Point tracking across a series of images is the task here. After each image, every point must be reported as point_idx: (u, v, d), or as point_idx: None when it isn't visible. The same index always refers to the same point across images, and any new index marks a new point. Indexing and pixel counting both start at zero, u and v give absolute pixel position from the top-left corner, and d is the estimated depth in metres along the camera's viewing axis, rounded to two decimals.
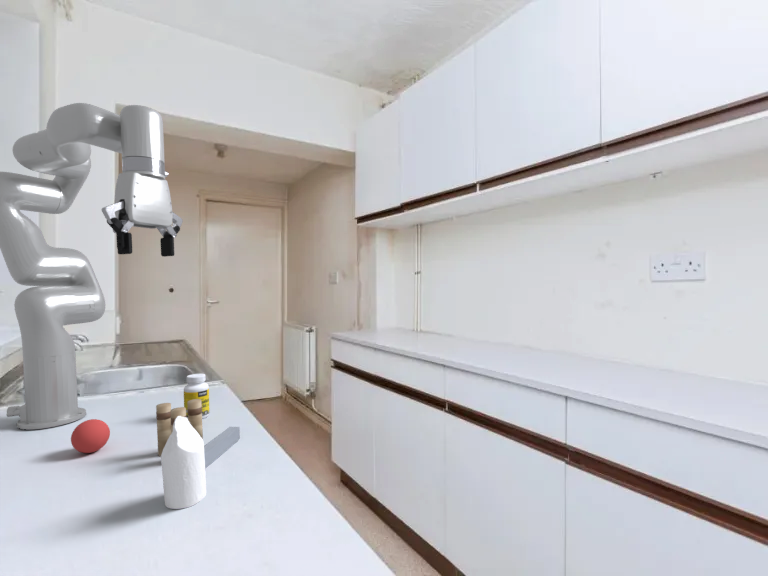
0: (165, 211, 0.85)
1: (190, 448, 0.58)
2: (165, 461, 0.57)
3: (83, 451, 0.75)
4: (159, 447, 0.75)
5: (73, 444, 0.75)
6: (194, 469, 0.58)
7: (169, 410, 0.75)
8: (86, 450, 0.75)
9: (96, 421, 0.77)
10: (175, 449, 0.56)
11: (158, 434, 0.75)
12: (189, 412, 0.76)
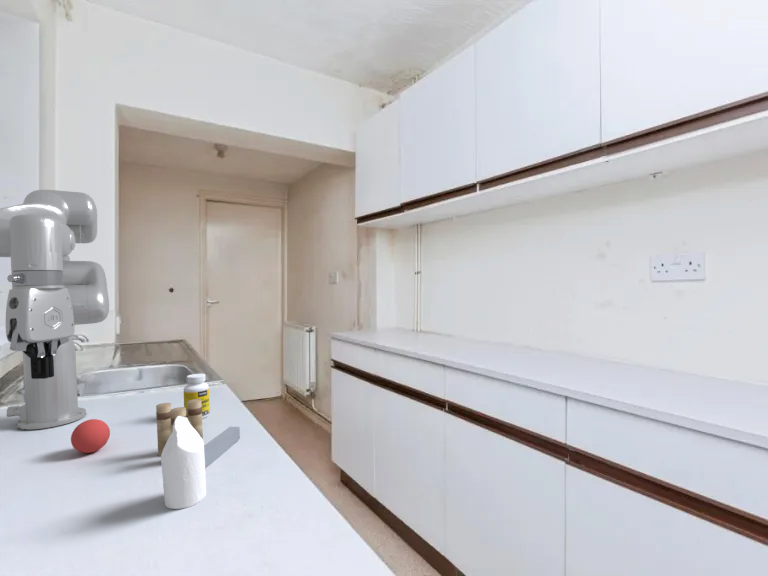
0: None
1: (190, 448, 0.58)
2: (165, 461, 0.57)
3: (83, 451, 0.75)
4: (159, 447, 0.75)
5: (73, 444, 0.75)
6: (194, 469, 0.58)
7: (169, 410, 0.75)
8: (86, 450, 0.75)
9: (96, 421, 0.77)
10: (175, 449, 0.56)
11: (158, 434, 0.75)
12: (189, 412, 0.76)
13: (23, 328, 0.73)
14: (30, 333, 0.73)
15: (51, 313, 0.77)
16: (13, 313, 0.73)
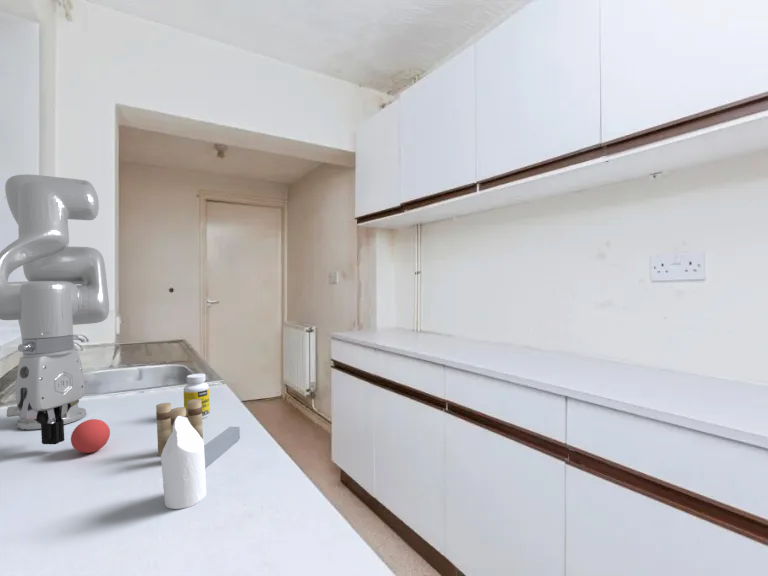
0: None
1: (190, 448, 0.58)
2: (165, 461, 0.57)
3: (83, 451, 0.75)
4: (159, 447, 0.75)
5: (73, 444, 0.75)
6: (194, 469, 0.58)
7: (169, 410, 0.75)
8: (86, 450, 0.75)
9: (96, 421, 0.77)
10: (175, 449, 0.56)
11: (158, 434, 0.75)
12: (189, 412, 0.76)
13: (33, 398, 0.73)
14: (40, 402, 0.73)
15: (62, 378, 0.77)
16: (23, 382, 0.73)
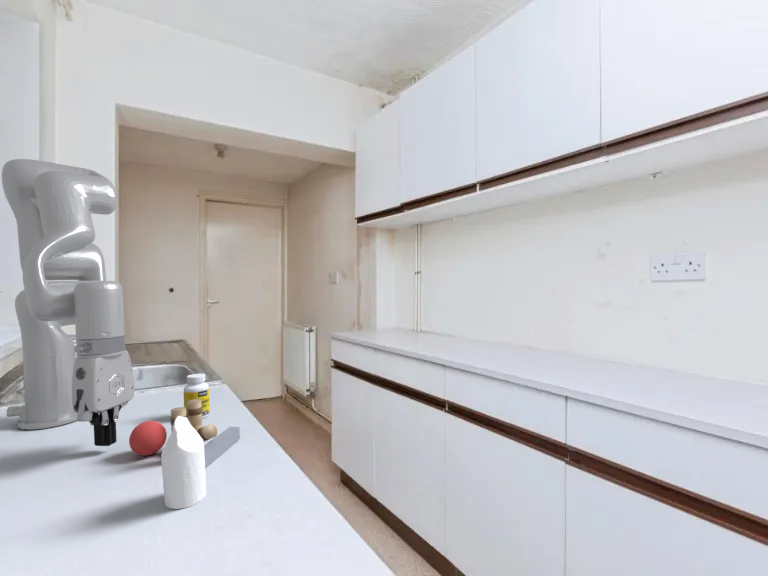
0: None
1: (190, 448, 0.58)
2: (165, 461, 0.57)
3: (142, 433, 0.73)
4: None
5: (143, 446, 0.73)
6: (194, 469, 0.58)
7: (210, 438, 0.74)
8: (139, 432, 0.73)
9: None
10: (175, 449, 0.56)
11: None
12: (189, 412, 0.76)
13: (90, 399, 0.72)
14: (97, 404, 0.72)
15: (115, 380, 0.76)
16: (80, 383, 0.72)
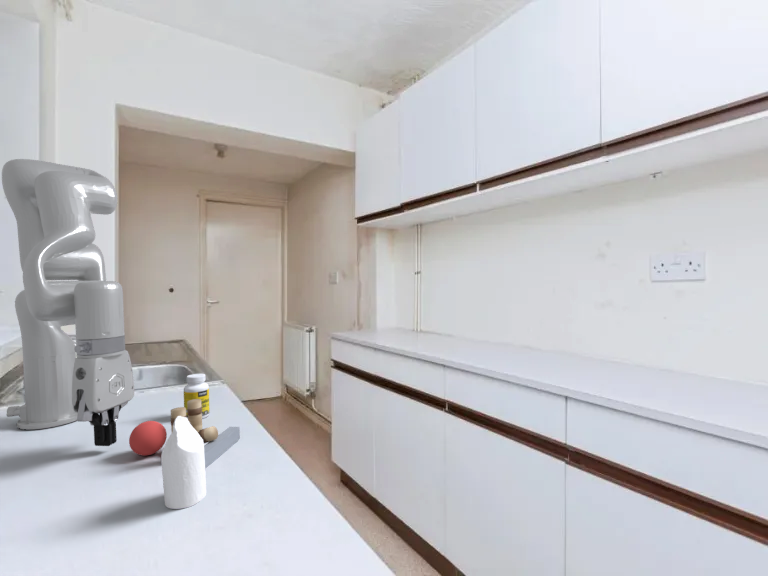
0: None
1: (190, 448, 0.58)
2: (165, 461, 0.57)
3: (142, 433, 0.73)
4: None
5: (143, 446, 0.73)
6: (194, 469, 0.58)
7: (211, 440, 0.74)
8: (139, 432, 0.73)
9: None
10: (175, 449, 0.56)
11: None
12: (189, 412, 0.76)
13: (90, 399, 0.72)
14: (97, 404, 0.72)
15: (115, 380, 0.76)
16: (80, 383, 0.72)
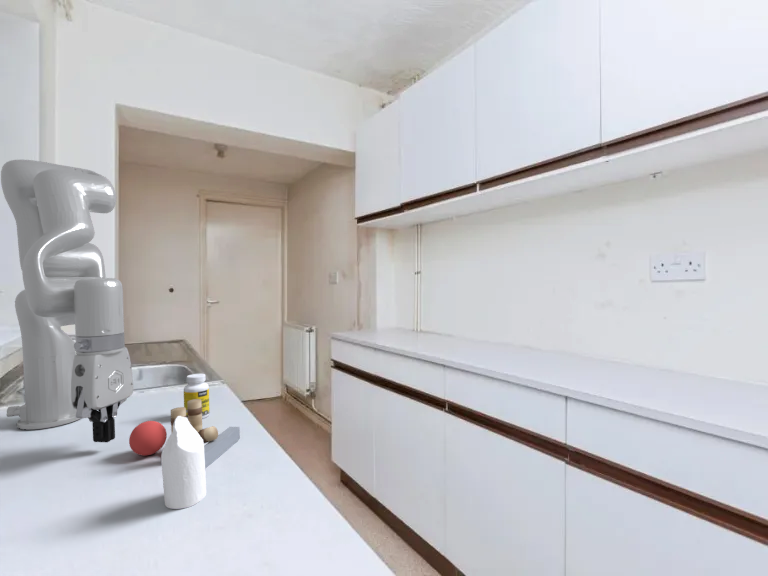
0: None
1: (190, 448, 0.58)
2: (165, 461, 0.57)
3: (142, 433, 0.73)
4: None
5: (143, 446, 0.73)
6: (194, 469, 0.58)
7: (211, 440, 0.74)
8: (139, 432, 0.73)
9: None
10: (175, 449, 0.56)
11: None
12: (189, 412, 0.76)
13: (89, 396, 0.72)
14: (96, 401, 0.72)
15: (114, 377, 0.77)
16: (79, 380, 0.72)
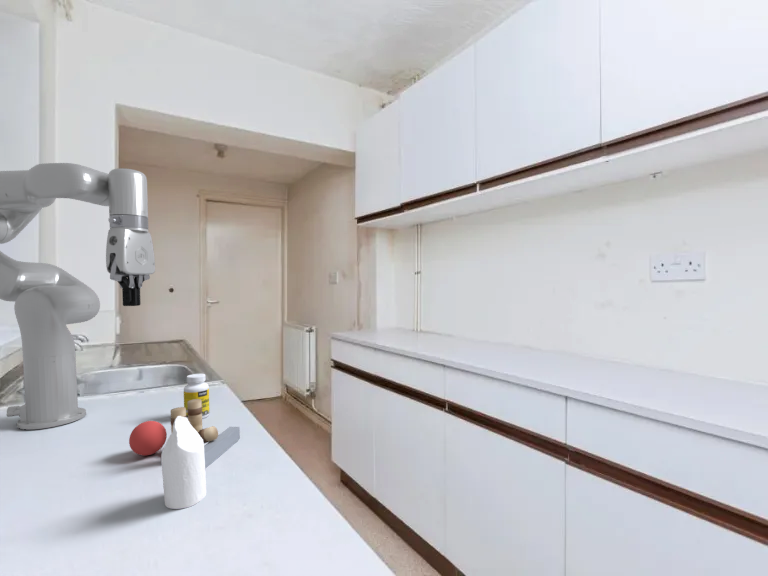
0: None
1: (190, 448, 0.58)
2: (165, 461, 0.57)
3: (142, 433, 0.73)
4: None
5: (143, 446, 0.73)
6: (194, 469, 0.58)
7: (211, 440, 0.74)
8: (139, 432, 0.73)
9: None
10: (175, 449, 0.56)
11: None
12: (189, 412, 0.76)
13: (121, 261, 0.88)
14: (126, 265, 0.89)
15: (140, 252, 0.93)
16: (112, 248, 0.89)
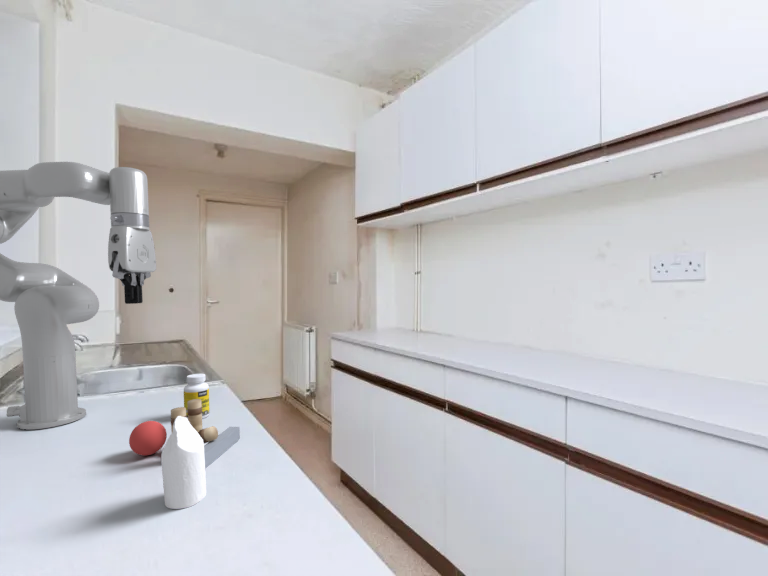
0: None
1: (190, 448, 0.58)
2: (165, 461, 0.57)
3: (142, 433, 0.73)
4: None
5: (143, 446, 0.73)
6: (194, 469, 0.58)
7: (211, 440, 0.74)
8: (139, 432, 0.73)
9: None
10: (175, 449, 0.56)
11: None
12: (189, 412, 0.76)
13: (123, 259, 0.89)
14: (128, 263, 0.90)
15: (142, 250, 0.94)
16: (115, 246, 0.89)
